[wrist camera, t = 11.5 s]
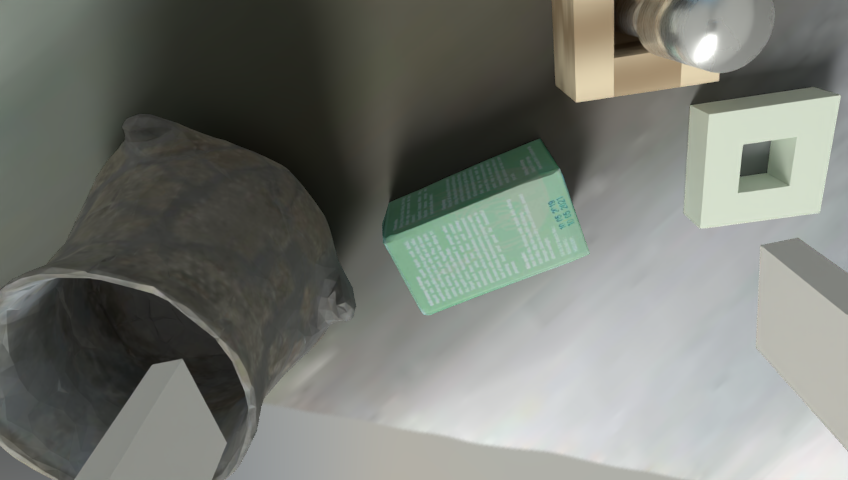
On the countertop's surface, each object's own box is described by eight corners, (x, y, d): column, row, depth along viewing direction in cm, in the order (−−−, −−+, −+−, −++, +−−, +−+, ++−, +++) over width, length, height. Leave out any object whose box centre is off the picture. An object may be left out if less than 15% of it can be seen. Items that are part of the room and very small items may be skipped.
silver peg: (592, -15, 37) (687, -13, 24) (652, -26, 37) (779, -29, 24) (593, 47, 39) (683, 79, 26) (651, 37, 38) (769, 65, 26)
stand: (690, 105, 42) (708, 114, 39) (813, 87, 41) (840, 95, 38) (683, 213, 45) (700, 229, 43) (795, 198, 45) (819, 212, 42)
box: (382, 202, 45) (377, 243, 38) (539, 133, 43) (562, 164, 36) (420, 273, 48) (421, 323, 41) (569, 212, 46) (595, 255, 39)
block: (549, -51, 37) (571, -55, 32) (685, -74, 36) (732, -81, 31) (555, 85, 41) (576, 102, 35) (678, 66, 40) (718, 81, 35)
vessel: (325, 71, 40) (250, 151, 22) (379, 320, 50) (357, 517, 32) (43, 114, 42) (-244, 223, 24) (149, 349, 51) (2, 554, 33)
